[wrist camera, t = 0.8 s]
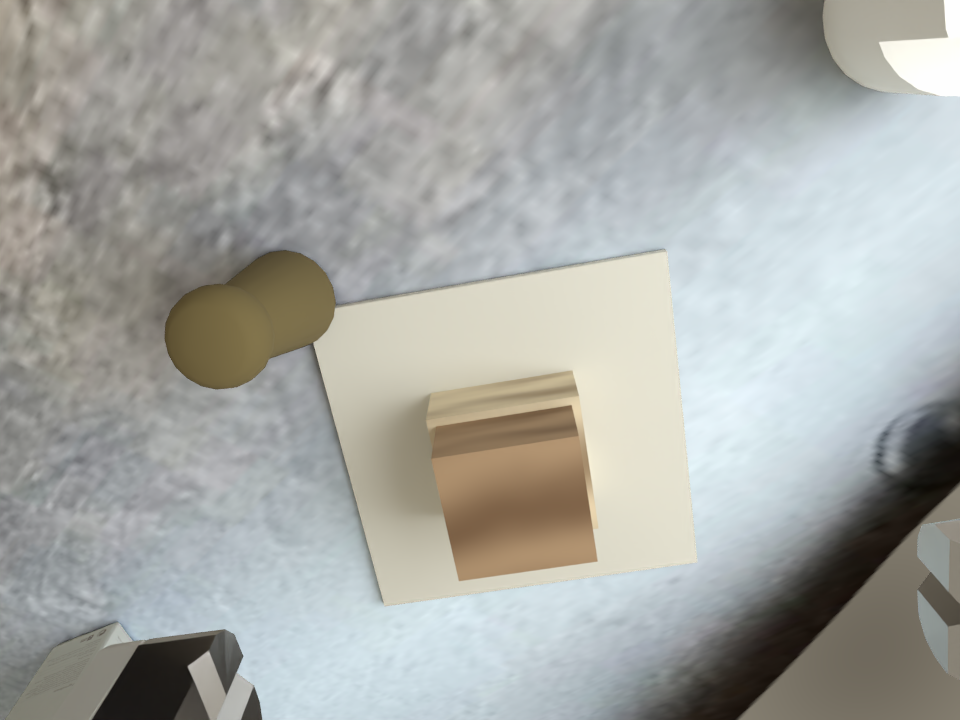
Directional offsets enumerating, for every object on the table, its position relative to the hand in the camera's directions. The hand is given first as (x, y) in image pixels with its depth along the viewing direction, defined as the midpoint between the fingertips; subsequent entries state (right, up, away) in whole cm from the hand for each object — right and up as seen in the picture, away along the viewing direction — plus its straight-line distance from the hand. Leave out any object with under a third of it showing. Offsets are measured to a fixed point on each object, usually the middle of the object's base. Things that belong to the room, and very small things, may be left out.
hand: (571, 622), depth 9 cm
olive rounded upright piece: (-13, +7, +38) cm, 41 cm away
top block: (+1, -4, +37) cm, 38 cm away
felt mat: (+1, -2, +42) cm, 42 cm away
